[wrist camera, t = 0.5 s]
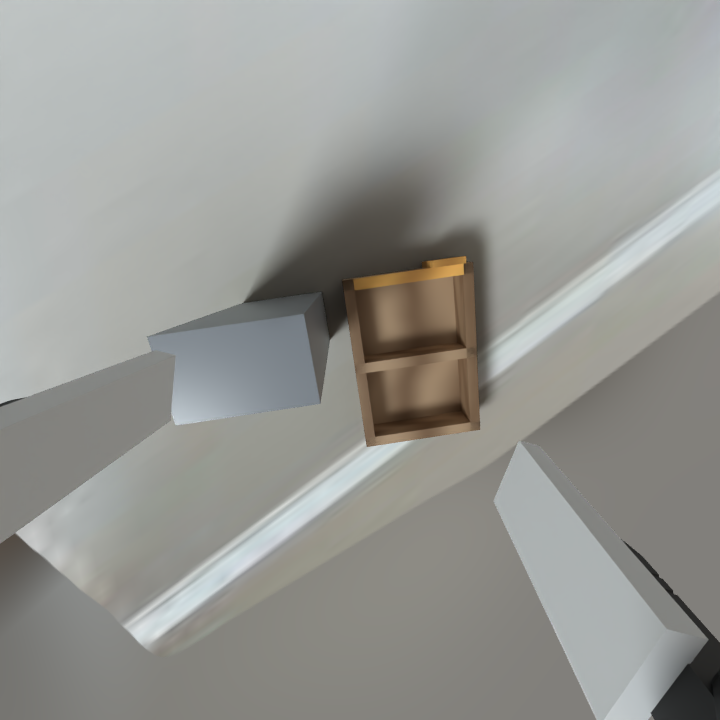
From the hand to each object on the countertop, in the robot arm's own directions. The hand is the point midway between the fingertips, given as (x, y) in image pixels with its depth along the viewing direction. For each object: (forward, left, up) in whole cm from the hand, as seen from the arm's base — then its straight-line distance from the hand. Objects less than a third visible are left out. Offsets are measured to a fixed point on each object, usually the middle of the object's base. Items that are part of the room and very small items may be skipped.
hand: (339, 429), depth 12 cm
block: (+4, -4, -23) cm, 23 cm away
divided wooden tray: (-4, +7, -23) cm, 24 cm away
